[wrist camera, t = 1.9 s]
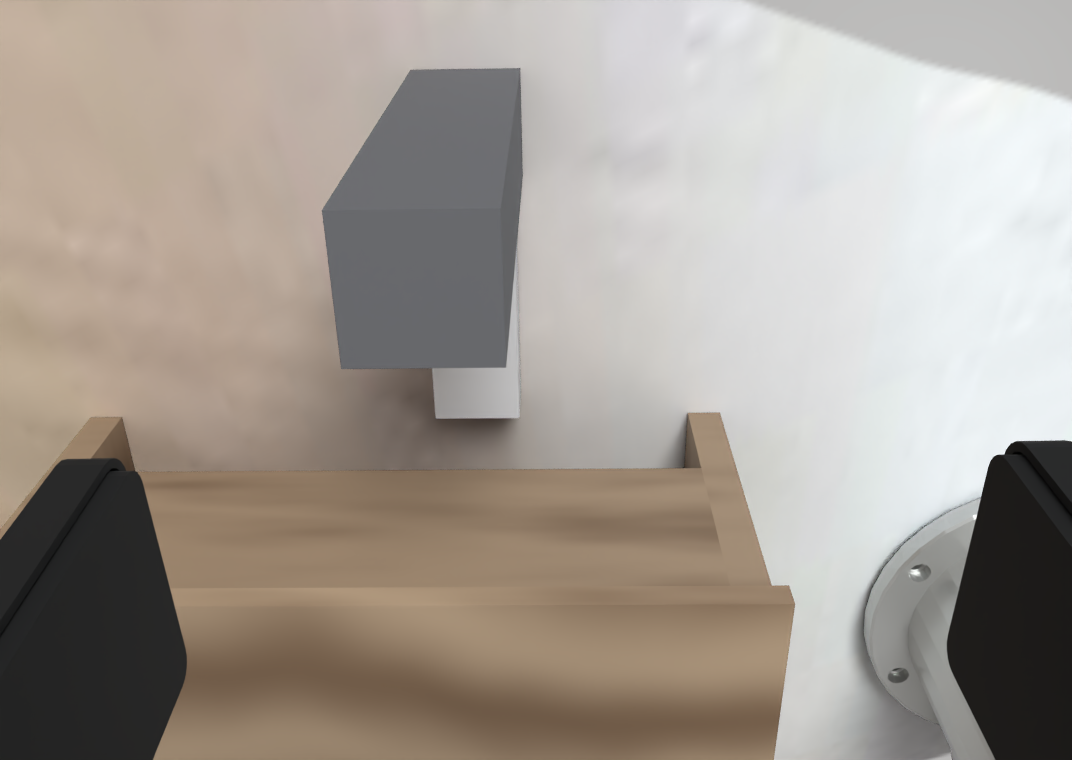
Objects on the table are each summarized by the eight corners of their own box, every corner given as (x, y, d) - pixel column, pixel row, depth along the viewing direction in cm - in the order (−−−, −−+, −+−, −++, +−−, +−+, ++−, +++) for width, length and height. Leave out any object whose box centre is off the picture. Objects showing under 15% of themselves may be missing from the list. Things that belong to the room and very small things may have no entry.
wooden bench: (719, 560, 41) (771, 776, 31) (116, 563, 41) (-13, 776, 32) (733, 412, 38) (795, 604, 28) (77, 417, 38) (-80, 607, 29)
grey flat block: (527, 390, 37) (516, 659, 25) (434, 391, 37) (376, 660, 25) (520, 68, 32) (500, 208, 19) (410, 70, 32) (321, 210, 19)
